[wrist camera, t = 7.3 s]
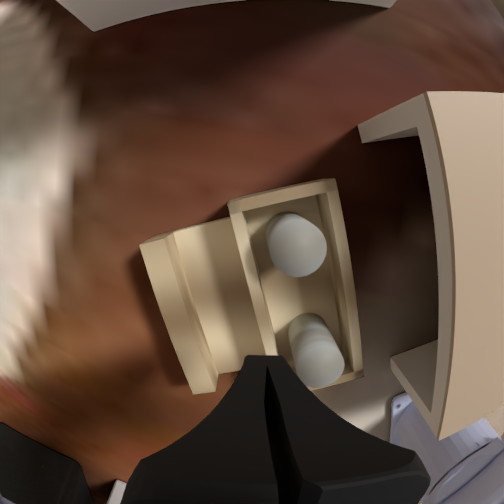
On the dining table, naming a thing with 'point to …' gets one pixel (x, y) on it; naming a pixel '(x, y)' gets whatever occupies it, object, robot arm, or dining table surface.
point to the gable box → (146, 9)
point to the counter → (458, 253)
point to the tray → (261, 287)
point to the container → (117, 492)
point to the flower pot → (38, 473)
